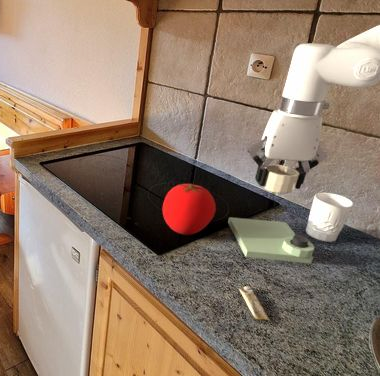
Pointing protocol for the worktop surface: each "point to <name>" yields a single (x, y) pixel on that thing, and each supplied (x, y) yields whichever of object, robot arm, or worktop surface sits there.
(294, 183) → the bowl
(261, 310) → the snack bar
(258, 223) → the scale
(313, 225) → the white cup
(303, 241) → the tare button
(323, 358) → the worktop surface
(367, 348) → the worktop surface
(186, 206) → the tomato
